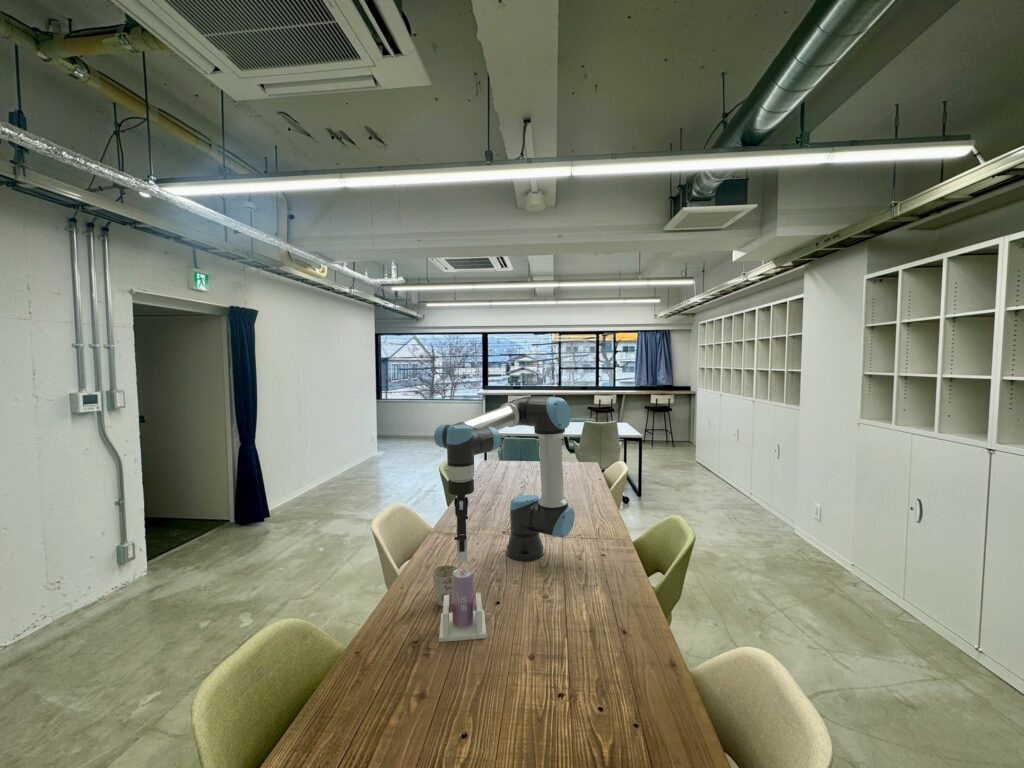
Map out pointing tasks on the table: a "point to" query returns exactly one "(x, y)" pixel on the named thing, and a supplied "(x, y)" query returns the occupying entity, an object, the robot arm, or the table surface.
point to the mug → (443, 583)
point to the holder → (454, 634)
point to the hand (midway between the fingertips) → (462, 551)
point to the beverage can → (462, 597)
